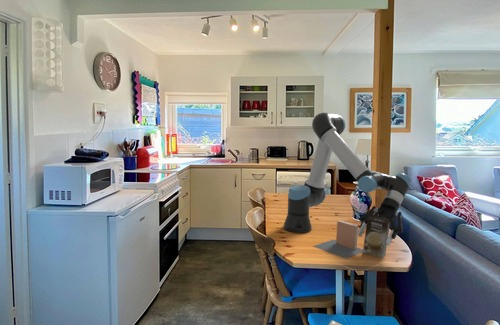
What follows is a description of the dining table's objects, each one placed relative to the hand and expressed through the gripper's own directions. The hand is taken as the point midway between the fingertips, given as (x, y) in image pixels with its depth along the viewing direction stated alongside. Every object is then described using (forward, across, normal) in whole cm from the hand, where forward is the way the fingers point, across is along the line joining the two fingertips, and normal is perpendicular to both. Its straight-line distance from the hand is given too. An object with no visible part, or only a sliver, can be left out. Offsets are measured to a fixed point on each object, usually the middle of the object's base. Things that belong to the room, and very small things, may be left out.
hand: (372, 239), depth 148 cm
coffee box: (+4, 0, -7) cm, 7 cm away
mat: (+9, +13, -1) cm, 16 cm away
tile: (+5, +13, -5) cm, 15 cm away
